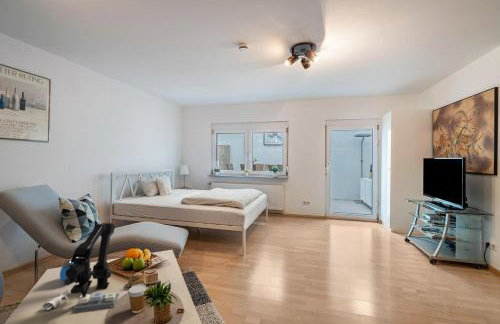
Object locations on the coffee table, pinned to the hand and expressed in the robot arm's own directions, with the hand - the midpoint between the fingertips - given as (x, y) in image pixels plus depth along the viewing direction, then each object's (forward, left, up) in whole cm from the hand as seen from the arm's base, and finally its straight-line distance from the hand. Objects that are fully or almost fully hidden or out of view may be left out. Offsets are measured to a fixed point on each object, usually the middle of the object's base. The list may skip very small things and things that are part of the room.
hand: (84, 296), depth 136 cm
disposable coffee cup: (+11, +29, -5) cm, 31 cm away
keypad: (0, +7, -5) cm, 8 cm away
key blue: (0, +7, -2) cm, 7 cm away
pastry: (-16, +27, -5) cm, 31 cm away
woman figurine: (-6, -15, -6) cm, 17 cm away
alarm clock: (-30, -17, -5) cm, 35 cm away
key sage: (0, +13, -3) cm, 13 cm away
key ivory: (0, 0, -2) cm, 2 cm away
